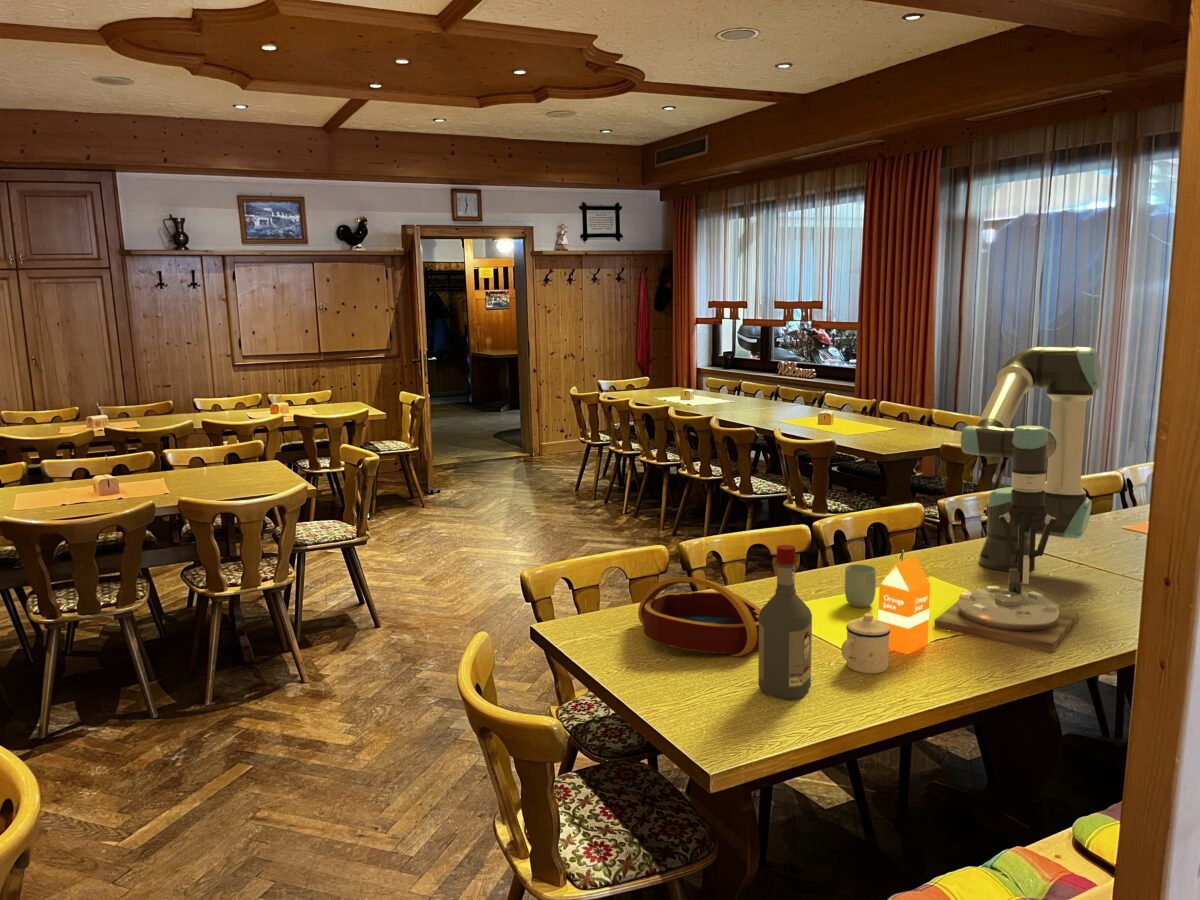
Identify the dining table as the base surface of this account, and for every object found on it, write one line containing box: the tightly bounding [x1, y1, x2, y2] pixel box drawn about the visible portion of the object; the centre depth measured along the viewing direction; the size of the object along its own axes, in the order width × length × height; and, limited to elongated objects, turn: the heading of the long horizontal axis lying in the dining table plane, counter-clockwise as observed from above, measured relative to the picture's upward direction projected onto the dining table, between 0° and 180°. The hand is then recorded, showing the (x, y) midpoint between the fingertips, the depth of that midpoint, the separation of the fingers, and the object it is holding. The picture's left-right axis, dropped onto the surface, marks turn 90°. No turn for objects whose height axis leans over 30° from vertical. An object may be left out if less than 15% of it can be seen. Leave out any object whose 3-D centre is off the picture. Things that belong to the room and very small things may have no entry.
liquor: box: [758, 544, 813, 701], centre depth 175 cm, size 9×9×30 cm
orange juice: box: [877, 556, 931, 655], centre depth 198 cm, size 8×9×20 cm
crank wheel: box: [958, 568, 1060, 631], centre depth 210 cm, size 22×22×9 cm
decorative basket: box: [637, 576, 762, 657], centre depth 206 cm, size 34×29×15 cm
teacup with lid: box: [840, 613, 890, 675], centre depth 186 cm, size 12×9×12 cm
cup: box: [844, 563, 877, 609], centre depth 226 cm, size 8×8×10 cm
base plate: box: [933, 600, 1080, 653], centre depth 211 cm, size 26×26×2 cm
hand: (1025, 582), depth 216 cm, fingers closed
